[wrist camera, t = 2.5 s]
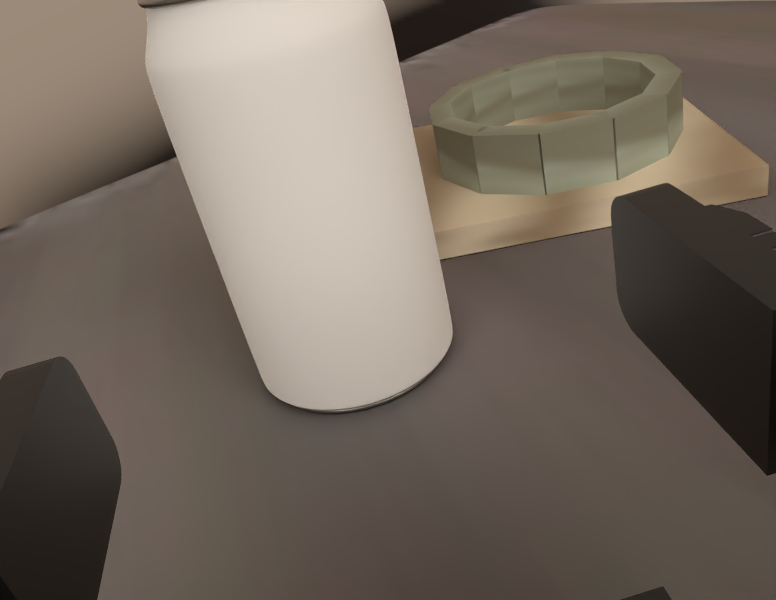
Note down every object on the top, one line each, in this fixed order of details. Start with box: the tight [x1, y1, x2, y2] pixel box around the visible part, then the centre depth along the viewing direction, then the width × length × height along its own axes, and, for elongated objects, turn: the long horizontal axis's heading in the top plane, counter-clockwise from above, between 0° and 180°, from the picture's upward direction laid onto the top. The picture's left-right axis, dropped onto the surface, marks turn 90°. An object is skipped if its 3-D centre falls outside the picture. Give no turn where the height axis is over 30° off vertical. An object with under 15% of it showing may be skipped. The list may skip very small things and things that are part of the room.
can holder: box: [413, 50, 769, 260], centre depth 33 cm, size 13×13×4 cm
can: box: [138, 0, 453, 414], centre depth 22 cm, size 6×6×12 cm
